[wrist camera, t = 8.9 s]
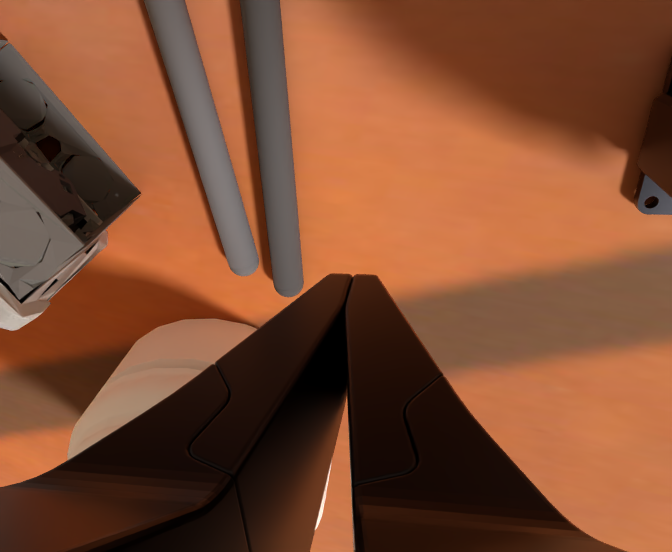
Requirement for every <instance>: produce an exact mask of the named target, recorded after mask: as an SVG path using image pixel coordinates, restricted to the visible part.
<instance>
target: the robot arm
mask: <svg viewBox="0 0 672 552" xmlns="http://www.w3.org/2000/svg"><path fill="white" fill-rule="evenodd" d="M637 166H638V167H639V168H640V169H641V174H640V178H639V182H638V185H637V189H636V193H635V197H634V204H635V206H636V208H637V209H638V210H639V211H641V212H642V213H644V214H663V215H672V58H671V62H670V65H669V69H668V73H667V77H666V80H665V84H664V88H663V92H662V93H661V94H660V95H659V96H657V97H656V98H655V99H654V101H653V105H652V109H651V113H650V116H649V120H648V124H647V128H646V132H645V136H644V139H643V143H642V147H641V151H640V155H639V159H638V162H637ZM651 196H655V199H654V200H653V202H652V203H650V204H646V205H645V204H644V202H645V200H646V199H647V198H649V197H651ZM346 397H347V399H348V424H349V449H350V473H351V498H352V522H353V547H354V552H627V551H624V550H621V549H619V548H616V547H614V546H611V545H608V544H606V543H603V542H601V541H599V540H597V539H595V538H593V537H591V536H589V535H588V534H586V533H584V532H583V531H582V530H580V529H579V528H578V527H576V526H575V525H573V524H572V523H571V522H570V521H569V520H568V519H567V518H565V517H564V516H563V515H562V514H561V513H560V512H559V511H558V510H557V509H556V508H555V507H554V506H553V505H552V504H551V503H550V502H549V501H548V500H547V499H546V497H545V496H544V495H543V494H542V493H541V492H540V491H539V490H538V489H537V487H536V486H535V485H534V484H533V483H532V482H531V481H530V480H529V479H528V478H527V476H526V475H525V474H524V473H523V472H522V471H521V470H520V469H519V468H518V466H517V465H516V464H515V463H514V462H513V461H512V460H511V459H510V458H509V456H508V455H507V454H506V453H505V452H504V451H503V450H502V449H501V448H500V447H499V445H498V444H497V443H496V442H495V441H494V440H493V439H492V438H491V436H490V435H489V434H488V433H487V432H486V431H485V429H484V428H483V427H482V426H481V425H480V424H479V422H478V421H477V420H476V419H475V418H474V417H473V415H472V414H471V413H470V411H469V410H468V409H467V407H466V406H465V405H464V403H463V402H462V401H461V399H460V398H459V396H458V395H457V394H456V392H455V391H454V389H453V388H452V386H451V385H450V383H449V382H448V380H447V379H446V377H444V376H443V373H442V372H441V370H440V369H439V367H438V366H437V364H436V363H435V361H434V360H433V358H432V357H431V355H430V354H429V352H428V351H427V349H426V348H425V346H424V345H423V343H422V342H421V340H420V339H419V337H418V336H417V334H416V333H415V331H414V330H413V328H412V327H411V325H410V324H409V322H408V321H407V319H406V318H405V316H404V315H403V313H402V312H401V310H400V309H399V307H398V306H397V305H396V303H395V302H394V300H393V299H392V297H391V296H390V294H389V293H388V291H387V290H386V288H385V287H384V285H383V284H382V282H381V281H380V279H379V278H378V276H376V275H366V274H356V275H354V277H352V275H350V274H329V275H327V276H326V277H325V278H323V279H322V280H321V281H320V282H318V283H317V284H316V285H314V286H313V287H312V288H310V289H309V290H308V291H307V292H305V293H304V294H303V295H301V296H300V297H299V298H297V299H296V300H295V301H294V302H292V303H291V304H290V305H288V306H287V307H286V308H284V309H283V310H282V311H281V312H279V313H278V314H277V315H275V316H274V317H273V318H271V319H270V320H269V321H268V322H266V323H265V324H264V325H262V326H261V327H260V328H258V329H257V330H256V331H255V332H253V333H252V334H251V335H249V336H248V337H247V338H245V339H244V340H243V341H242V342H240V343H239V344H238V345H236V346H235V347H234V348H232V349H231V350H230V351H229V352H227V353H226V354H225V355H223V356H222V357H221V358H219V359H218V360H217V361H216V362H215V364H211V365H210V366H209V367H207V368H206V369H205V370H204V371H202V372H201V373H200V374H198V375H197V376H196V377H194V378H193V379H192V380H190V381H189V382H187V383H186V384H185V385H183V386H182V387H181V388H179V389H178V390H176V391H175V392H174V393H172V394H171V395H169V396H168V397H166V398H165V399H163V400H162V401H160V402H159V403H157V404H156V405H154V406H153V407H151V408H150V409H148V410H147V411H145V412H144V413H142V414H141V415H139V416H137V417H136V418H134V419H133V420H131V421H129V422H128V423H126V424H125V425H123V426H121V427H120V428H118V429H117V430H115V431H114V432H112V433H110V434H109V435H107V436H106V437H104V438H102V439H101V440H99V441H98V442H96V443H95V444H93V445H91V446H90V447H88V448H87V449H85V450H83V451H82V452H80V453H79V454H77V455H75V456H74V457H72V458H71V459H69V460H68V461H66V462H64V463H63V464H61V465H59V466H57V467H56V468H54V469H52V470H50V471H48V472H46V473H44V474H42V475H40V476H37V477H35V478H32V479H29V480H26V481H23V482H20V483H16V484H12V485H8V486H4V487H0V552H310V548H311V544H312V540H313V536H314V532H315V528H316V524H317V519H318V515H319V511H320V507H321V503H322V499H323V494H324V490H325V486H326V482H327V478H328V474H329V469H330V465H331V461H332V457H333V453H334V449H335V445H336V440H337V436H338V432H339V428H340V424H341V420H342V415H343V411H344V407H345V402H346Z"/></svg>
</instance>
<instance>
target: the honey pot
mask: <svg viewBox="0 0 672 552" xmlns="http://www.w3.org/2000/svg"><path fill="white" fill-rule="evenodd" d="M256 330H257V329H256V328H254V327H252V326H249V325H246V324H241V323H236V322H231V321H225V320H220V319H215V318H214V319H184V320H180V321H177V322H173V323H170V324H166V325H163V326H159V327H157V328H155V329H154V330H152V331H151V332H149V333H148V334H146V335H144V336H143V337H141V338H140V339H138V340H137V341H136V343H135V344H134V345H133V347H132V348H131V349H130V351H129V352H128V353H127V355H126V356H125V357H124V359H123V360H122V361H121V363H120V364H119V365H118V367H117V368H116V370H115V371H114V372H113V374H112V375H111V376H110V378H109V379H108V380H107V382H106V383H105V385H104V386H103V387H102V389H101V390H100V391H99V393H98V394H97V395H96V397H95V398H94V400H93V401H92V402H91V404H90V405H89V406H88V408H87V409H86V410H85V412H84V413H83V415H82V416H81V417H80V419H79V420H78V421H77V423H76V425H75V427H74V430H73V432H72V435H71V440H70V444H69V449H68V454H67V455H68V460H69V459H71V458H72V457H74V456H75V455H77V454H79V453H80V452H82V451H83V450H85V449H87V448H88V447H90V446H91V445H93V444H95V443H96V442H98V441H99V440H101V439H102V438H104V437H106V436H107V435H109V434H110V433H112V432H114V431H115V430H117V429H118V428H120V427H121V426H123V425H125V424H126V423H128V422H129V421H131V420H133V419H134V418H136V417H137V416H139V415H141V414H142V413H144V412H145V411H147V410H148V409H150V408H151V407H153V406H154V405H156V404H157V403H159V402H160V401H162V400H163V399H165V398H166V397H168V396H169V395H171V394H172V393H174V392H175V391H176V390H178V389H179V388H181V387H182V386H183V385H185V384H186V383H187V382H189V381H190V380H192V379H193V378H194V377H196V376H197V375H198V374H200V373H201V372H202V371H204V370H205V369H206V368H207V367H209V366H210V365H211V364H215V362H216V361H217V360H218V359H219V358H221V357H222V356H223V355H225V354H226V353H227V352H229V351H230V350H231V349H232V348H234V347H235V346H236V345H238V344H239V343H240V342H242V341H243V340H244V339H245V338H247V337H248V336H249V335H251V334H252V333H253V332H255V331H256ZM68 460H67V461H68ZM331 463H332V461H331ZM330 469H331V465H330ZM330 469H329V474H330ZM329 474H328V478H327V482H326V486H325V490H324V494H323V499H322V503H321V507H320V511H319V515H318V519H317V524H316V528H317V527H318V524H319V522H320V519H321V517H322V513H323V508H324V503H325V498H326V490H327V485H328V480H329ZM316 528H315V529H316Z"/></svg>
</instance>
